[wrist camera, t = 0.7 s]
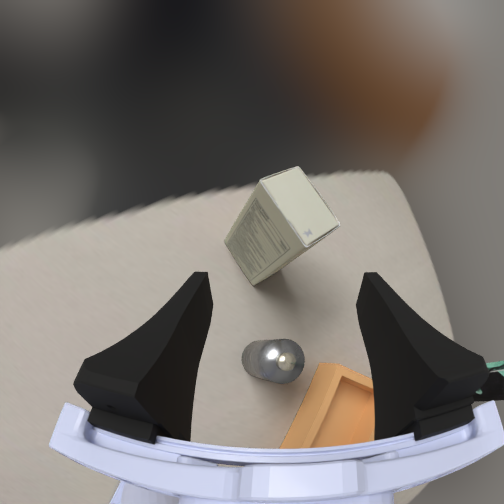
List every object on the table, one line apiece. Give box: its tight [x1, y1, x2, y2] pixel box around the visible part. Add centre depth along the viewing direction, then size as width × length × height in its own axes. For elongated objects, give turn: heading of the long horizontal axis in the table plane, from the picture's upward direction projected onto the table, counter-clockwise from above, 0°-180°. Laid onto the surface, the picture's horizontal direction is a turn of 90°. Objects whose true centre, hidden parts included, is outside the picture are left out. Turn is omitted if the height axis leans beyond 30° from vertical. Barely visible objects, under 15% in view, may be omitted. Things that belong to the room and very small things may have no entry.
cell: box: [242, 339, 305, 384], centre depth 25 cm, size 4×4×7 cm
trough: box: [279, 363, 375, 449], centre depth 25 cm, size 15×10×4 cm, turn 153°
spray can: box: [472, 361, 504, 401], centre depth 25 cm, size 6×6×20 cm
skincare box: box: [224, 166, 340, 286], centre depth 26 cm, size 6×4×12 cm
